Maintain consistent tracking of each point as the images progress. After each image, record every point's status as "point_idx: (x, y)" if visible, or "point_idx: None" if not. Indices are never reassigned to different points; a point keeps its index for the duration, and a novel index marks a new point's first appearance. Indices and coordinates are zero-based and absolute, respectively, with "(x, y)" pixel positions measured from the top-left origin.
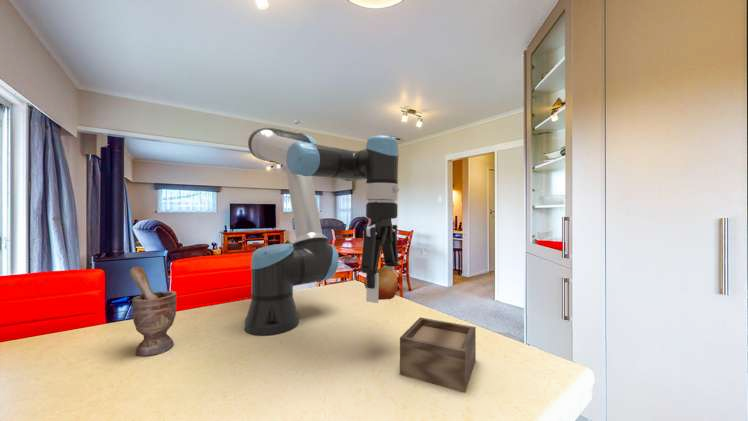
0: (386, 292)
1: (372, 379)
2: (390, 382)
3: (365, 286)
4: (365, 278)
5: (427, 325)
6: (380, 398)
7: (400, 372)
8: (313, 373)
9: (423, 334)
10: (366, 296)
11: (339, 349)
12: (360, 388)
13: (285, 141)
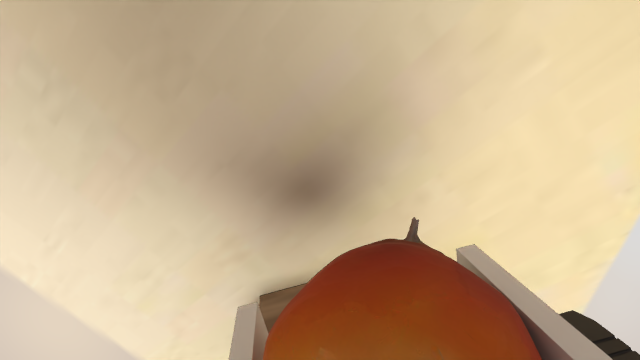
0: None
1: (196, 267)
2: (219, 300)
3: (274, 324)
4: (305, 351)
5: None
6: (159, 320)
7: (260, 300)
8: (86, 138)
9: None
10: (235, 328)
11: (240, 85)
12: (149, 272)
13: None
